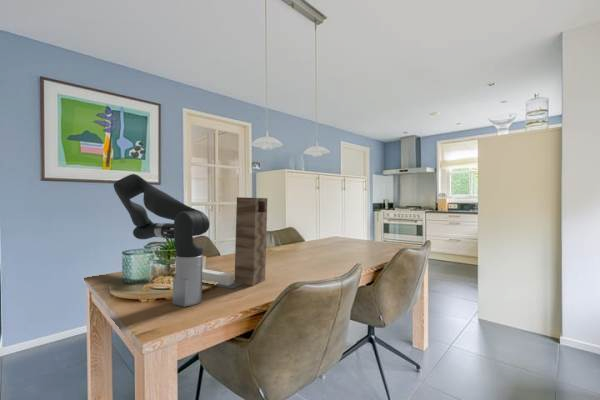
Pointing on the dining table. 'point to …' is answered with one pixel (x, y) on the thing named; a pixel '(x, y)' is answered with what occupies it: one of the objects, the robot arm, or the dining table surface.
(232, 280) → the plug bar
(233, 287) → the mat
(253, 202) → the socket tower
